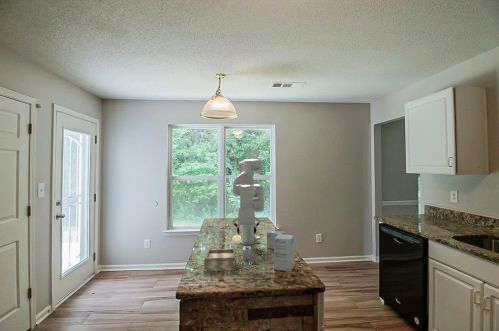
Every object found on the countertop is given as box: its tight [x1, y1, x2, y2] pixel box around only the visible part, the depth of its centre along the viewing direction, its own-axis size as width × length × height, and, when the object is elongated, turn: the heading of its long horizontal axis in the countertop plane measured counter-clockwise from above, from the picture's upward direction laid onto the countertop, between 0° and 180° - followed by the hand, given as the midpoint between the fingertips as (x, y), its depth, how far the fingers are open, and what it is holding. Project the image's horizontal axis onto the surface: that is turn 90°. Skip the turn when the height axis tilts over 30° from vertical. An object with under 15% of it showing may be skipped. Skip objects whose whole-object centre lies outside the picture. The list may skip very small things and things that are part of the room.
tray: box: [204, 248, 236, 272], centre depth 154 cm, size 16×16×6 cm
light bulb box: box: [266, 230, 285, 250], centre depth 186 cm, size 11×7×11 cm, turn 65°
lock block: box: [242, 245, 252, 261], centre depth 167 cm, size 5×7×7 cm
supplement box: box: [273, 234, 296, 272], centre depth 150 cm, size 10×9×17 cm
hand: (246, 234), depth 166 cm, fingers open, 9 cm apart
